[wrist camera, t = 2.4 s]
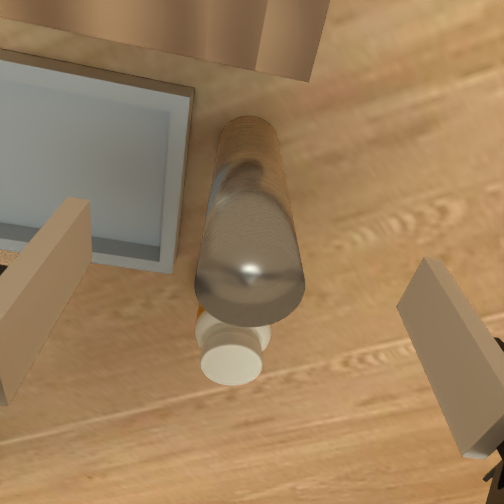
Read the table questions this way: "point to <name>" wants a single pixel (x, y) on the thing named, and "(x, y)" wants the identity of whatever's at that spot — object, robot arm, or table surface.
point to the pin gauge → (249, 232)
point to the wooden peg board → (195, 28)
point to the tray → (93, 157)
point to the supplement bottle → (230, 349)
